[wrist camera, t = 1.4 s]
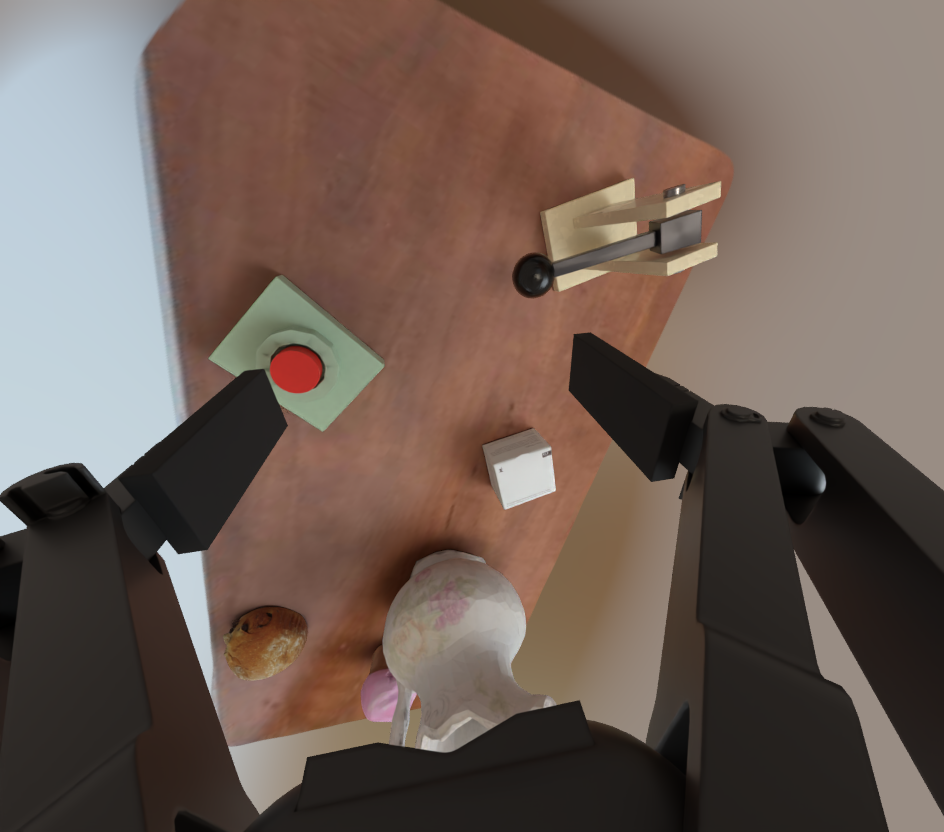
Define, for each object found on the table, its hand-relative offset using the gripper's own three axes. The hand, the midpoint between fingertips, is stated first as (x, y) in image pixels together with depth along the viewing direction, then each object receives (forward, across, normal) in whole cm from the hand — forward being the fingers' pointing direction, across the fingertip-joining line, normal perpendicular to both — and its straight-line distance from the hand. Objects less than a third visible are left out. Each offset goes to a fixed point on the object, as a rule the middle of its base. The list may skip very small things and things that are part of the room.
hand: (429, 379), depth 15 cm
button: (+18, -12, -5) cm, 22 cm away
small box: (+23, +9, -23) cm, 34 cm away
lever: (+17, +15, +3) cm, 22 cm away
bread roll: (+17, -29, -44) cm, 55 cm away
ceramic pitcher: (+20, -4, -44) cm, 48 cm away
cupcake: (+18, -14, -58) cm, 62 cm away
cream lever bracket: (+25, +18, +3) cm, 32 cm away
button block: (+21, -13, -5) cm, 25 cm away
